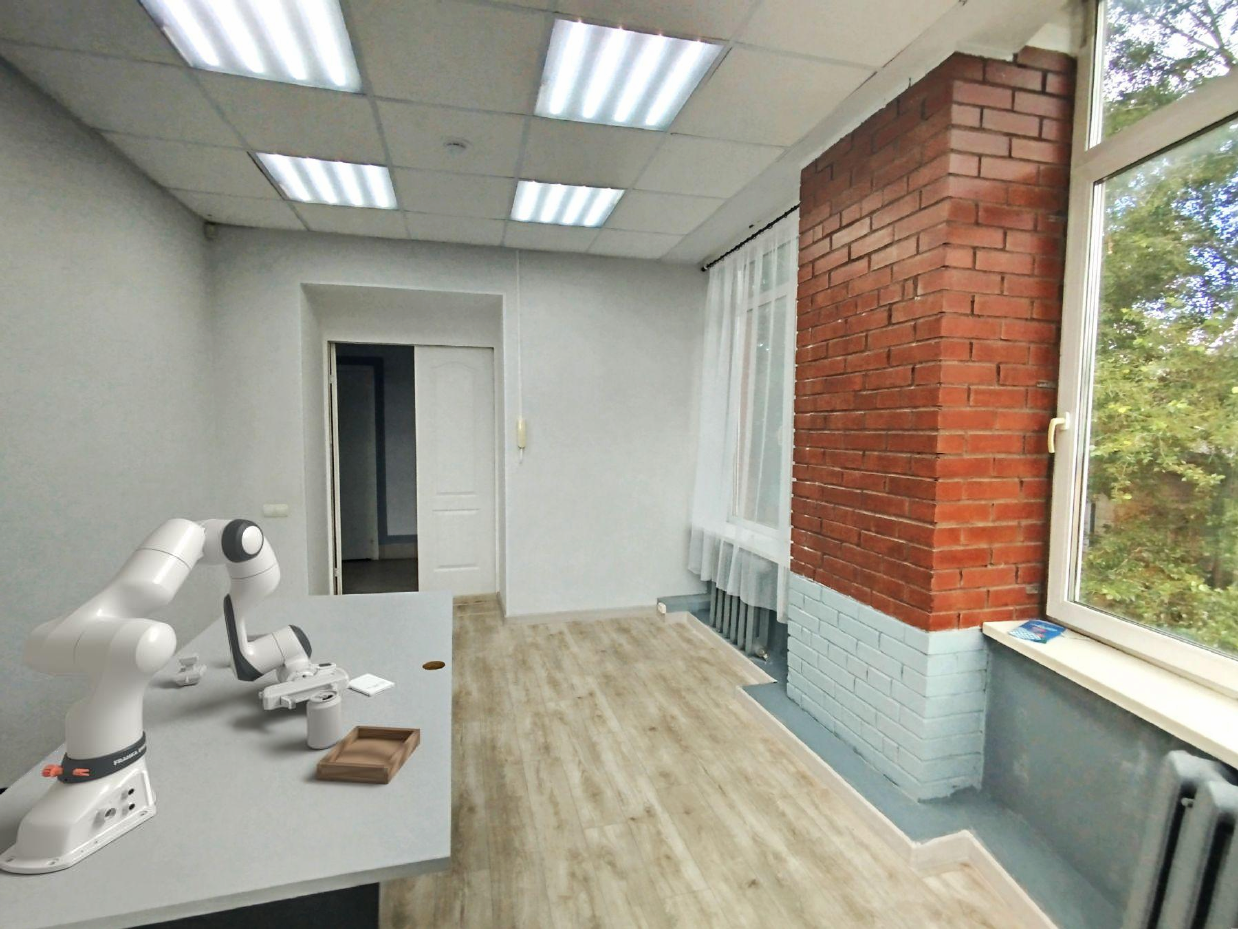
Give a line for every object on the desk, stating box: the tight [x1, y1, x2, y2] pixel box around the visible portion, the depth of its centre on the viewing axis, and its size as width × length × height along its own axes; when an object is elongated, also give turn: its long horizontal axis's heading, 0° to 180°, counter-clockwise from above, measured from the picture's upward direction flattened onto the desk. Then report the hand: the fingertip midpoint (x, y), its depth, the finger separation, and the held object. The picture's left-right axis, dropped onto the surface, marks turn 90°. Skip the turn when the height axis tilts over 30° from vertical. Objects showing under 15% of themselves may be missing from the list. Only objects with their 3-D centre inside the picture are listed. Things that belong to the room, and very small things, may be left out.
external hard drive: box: [347, 673, 396, 697], centre depth 167 cm, size 2×8×12 cm
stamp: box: [173, 652, 208, 687], centre depth 168 cm, size 9×7×8 cm
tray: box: [316, 725, 421, 785], centre depth 129 cm, size 16×16×4 cm
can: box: [306, 690, 343, 750], centre depth 136 cm, size 8×8×12 cm
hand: (313, 700), depth 145 cm, fingers open, 8 cm apart
